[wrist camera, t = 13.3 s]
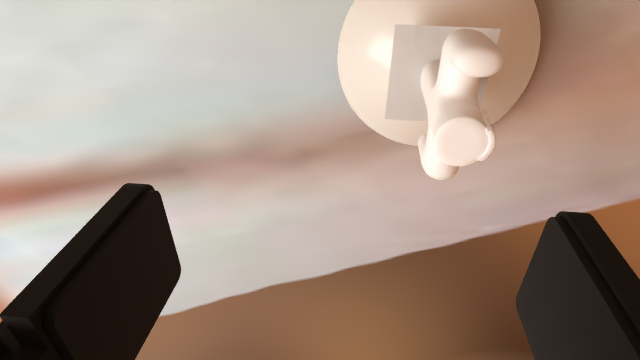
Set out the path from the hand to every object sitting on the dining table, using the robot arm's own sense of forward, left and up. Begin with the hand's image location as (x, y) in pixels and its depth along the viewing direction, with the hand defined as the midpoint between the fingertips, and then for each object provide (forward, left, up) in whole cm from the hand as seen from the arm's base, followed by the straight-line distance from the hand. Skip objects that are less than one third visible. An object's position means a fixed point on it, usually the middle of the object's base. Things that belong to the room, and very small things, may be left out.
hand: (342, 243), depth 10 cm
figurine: (+2, +6, -26) cm, 27 cm away
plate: (+2, +6, -28) cm, 28 cm away
